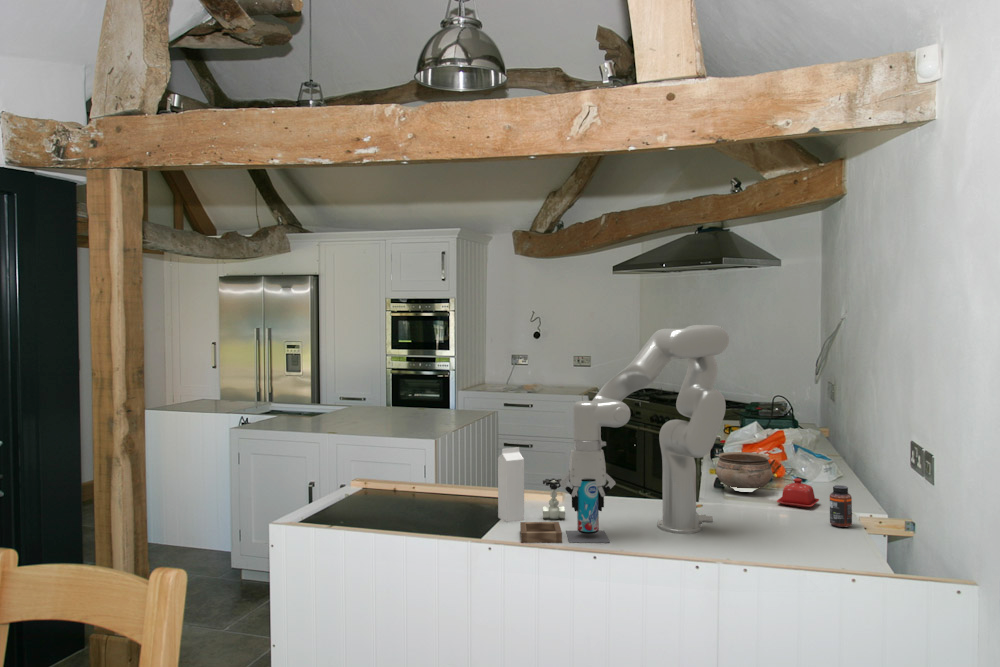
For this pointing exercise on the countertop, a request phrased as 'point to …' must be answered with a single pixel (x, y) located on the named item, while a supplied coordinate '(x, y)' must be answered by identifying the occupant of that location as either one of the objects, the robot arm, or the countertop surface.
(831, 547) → the countertop surface
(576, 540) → the charcoal rubber mat
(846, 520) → the supplement bottle
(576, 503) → the robot arm
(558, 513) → the valve
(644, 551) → the countertop surface
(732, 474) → the cooking pot
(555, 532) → the walnut socket block
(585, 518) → the beverage can
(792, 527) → the countertop surface
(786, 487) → the butter dish
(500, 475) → the milk
